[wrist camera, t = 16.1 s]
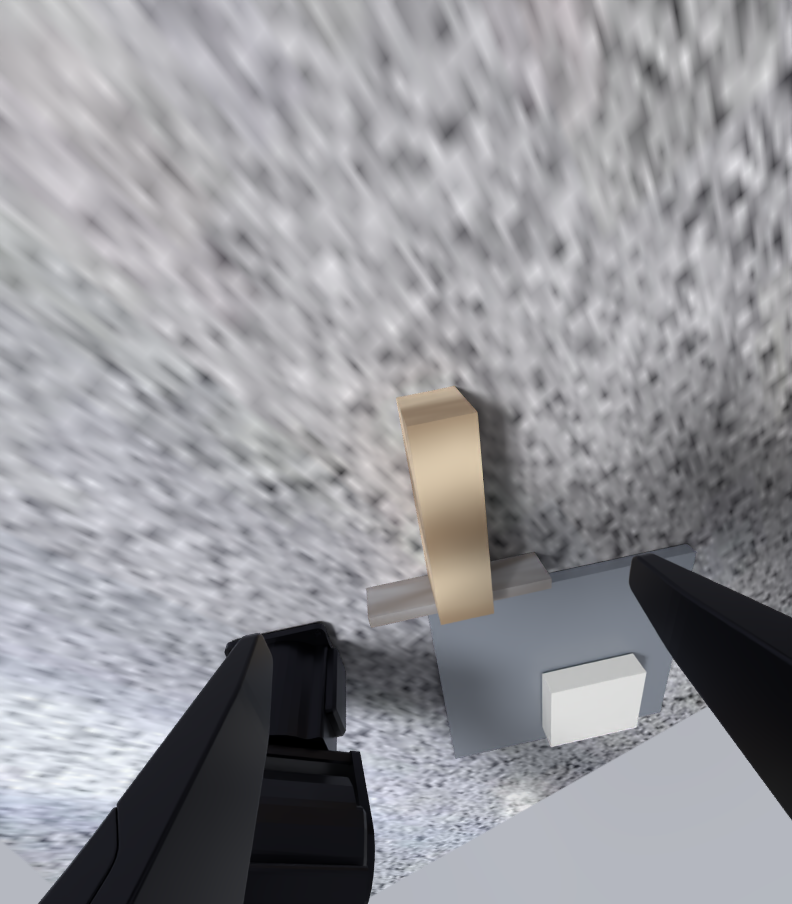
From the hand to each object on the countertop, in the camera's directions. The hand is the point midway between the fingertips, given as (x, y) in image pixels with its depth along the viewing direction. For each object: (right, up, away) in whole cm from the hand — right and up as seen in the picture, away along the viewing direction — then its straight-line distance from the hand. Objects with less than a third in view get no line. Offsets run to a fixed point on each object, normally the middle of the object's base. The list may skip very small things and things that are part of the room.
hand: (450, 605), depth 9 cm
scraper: (+1, +1, +13) cm, 13 cm away
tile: (+13, -12, +19) cm, 26 cm away
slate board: (+11, -12, +21) cm, 26 cm away
